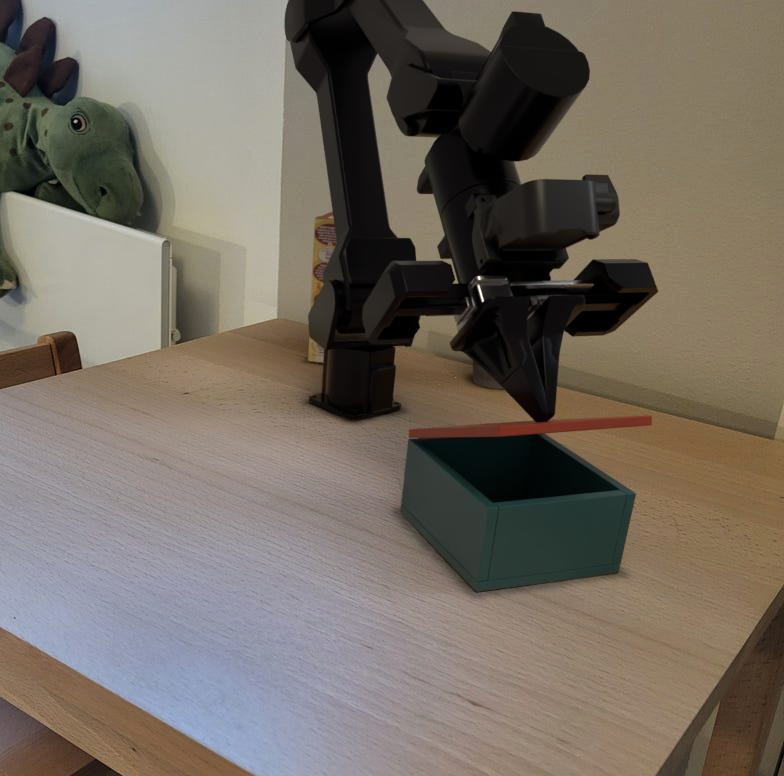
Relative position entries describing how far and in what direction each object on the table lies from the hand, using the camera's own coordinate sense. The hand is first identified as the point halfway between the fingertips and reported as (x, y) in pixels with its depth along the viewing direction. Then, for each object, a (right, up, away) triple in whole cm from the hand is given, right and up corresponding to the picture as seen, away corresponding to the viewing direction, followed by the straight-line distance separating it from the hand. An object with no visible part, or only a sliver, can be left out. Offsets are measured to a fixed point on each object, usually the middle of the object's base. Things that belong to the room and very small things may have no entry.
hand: (545, 419), depth 56 cm
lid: (-1, -1, +3) cm, 3 cm away
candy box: (-11, +10, +46) cm, 48 cm away
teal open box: (-1, -8, +6) cm, 10 cm away
